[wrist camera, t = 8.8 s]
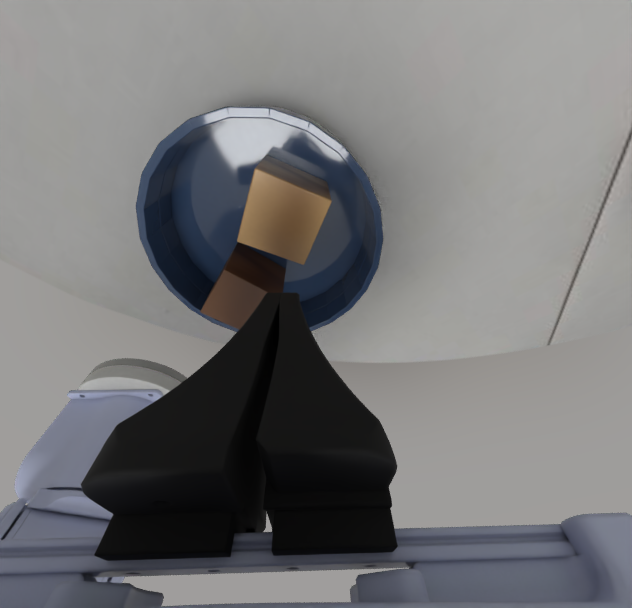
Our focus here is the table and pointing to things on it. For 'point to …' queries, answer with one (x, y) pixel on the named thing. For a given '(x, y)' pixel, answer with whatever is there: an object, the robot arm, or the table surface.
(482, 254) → the table surface
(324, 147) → the bowl
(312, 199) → the beech block
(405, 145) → the table surface
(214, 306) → the walnut block
